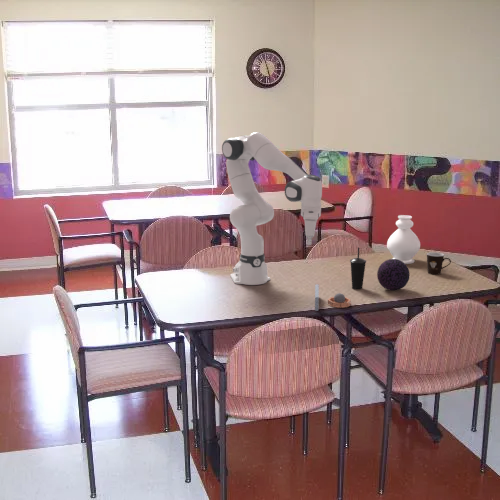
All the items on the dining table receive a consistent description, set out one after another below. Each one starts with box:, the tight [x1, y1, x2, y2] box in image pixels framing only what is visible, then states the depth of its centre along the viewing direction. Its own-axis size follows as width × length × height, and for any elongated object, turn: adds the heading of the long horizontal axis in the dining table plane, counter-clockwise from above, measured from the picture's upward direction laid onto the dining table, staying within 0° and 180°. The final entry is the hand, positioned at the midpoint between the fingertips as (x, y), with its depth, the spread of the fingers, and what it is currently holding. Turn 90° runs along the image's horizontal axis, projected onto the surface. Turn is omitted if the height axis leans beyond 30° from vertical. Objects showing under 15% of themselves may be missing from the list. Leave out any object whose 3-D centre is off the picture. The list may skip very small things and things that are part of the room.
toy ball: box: [376, 258, 411, 292], centre depth 332 cm, size 15×15×15 cm
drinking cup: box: [349, 247, 367, 291], centre depth 335 cm, size 8×8×20 cm
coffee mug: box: [426, 251, 452, 276], centre depth 361 cm, size 12×9×10 cm
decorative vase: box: [386, 214, 421, 265], centre depth 385 cm, size 18×18×25 cm
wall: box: [314, 283, 320, 312], centre depth 313 cm, size 20×2×6 cm, turn 175°
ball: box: [333, 292, 346, 303], centre depth 310 cm, size 5×5×5 cm
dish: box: [327, 296, 352, 309], centre depth 313 cm, size 10×10×2 cm
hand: (309, 242), depth 315 cm, fingers open, 8 cm apart
